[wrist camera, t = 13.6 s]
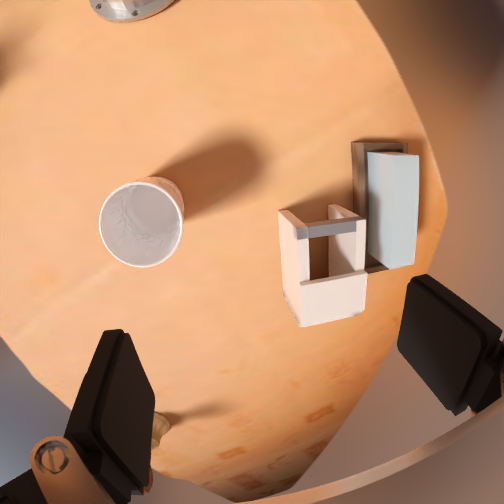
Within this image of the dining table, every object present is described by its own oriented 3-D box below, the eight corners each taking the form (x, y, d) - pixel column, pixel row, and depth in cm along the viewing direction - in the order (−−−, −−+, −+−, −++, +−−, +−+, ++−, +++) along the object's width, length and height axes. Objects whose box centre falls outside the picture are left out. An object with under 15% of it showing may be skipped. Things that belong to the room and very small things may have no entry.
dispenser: (277, 210, 37) (299, 230, 29) (336, 203, 38) (369, 221, 30) (283, 295, 41) (302, 331, 33) (336, 285, 42) (363, 317, 34)
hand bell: (140, 403, 45) (131, 478, 30) (178, 422, 48) (179, 494, 33) (120, 422, 47) (110, 490, 32) (156, 439, 49) (154, 505, 35)
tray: (350, 142, 35) (357, 142, 34) (399, 142, 36) (407, 143, 34) (352, 270, 42) (358, 275, 40) (396, 261, 43) (403, 266, 41)
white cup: (199, 188, 35) (198, 205, 25) (171, 245, 37) (162, 280, 27) (141, 160, 32) (118, 167, 23) (115, 219, 34) (88, 245, 25)
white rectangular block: (367, 151, 35) (393, 155, 30) (391, 151, 36) (418, 155, 30) (367, 252, 40) (389, 269, 35) (390, 248, 41) (413, 264, 35)
